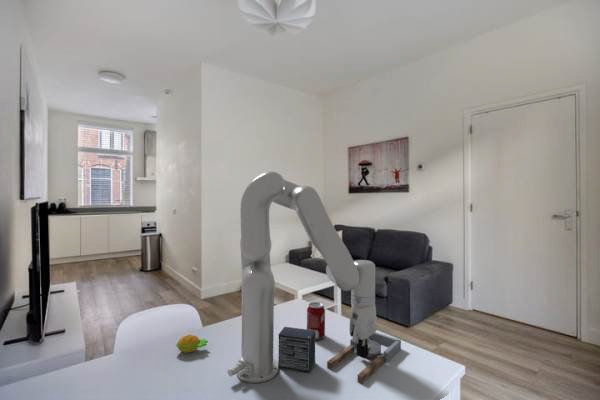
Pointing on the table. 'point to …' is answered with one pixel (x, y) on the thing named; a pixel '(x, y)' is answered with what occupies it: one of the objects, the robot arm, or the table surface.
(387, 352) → the grey u-shaped frame
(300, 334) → the small box
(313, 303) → the soda can
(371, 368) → the walnut slot
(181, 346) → the toy pineapple
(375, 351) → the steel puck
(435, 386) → the table surface
